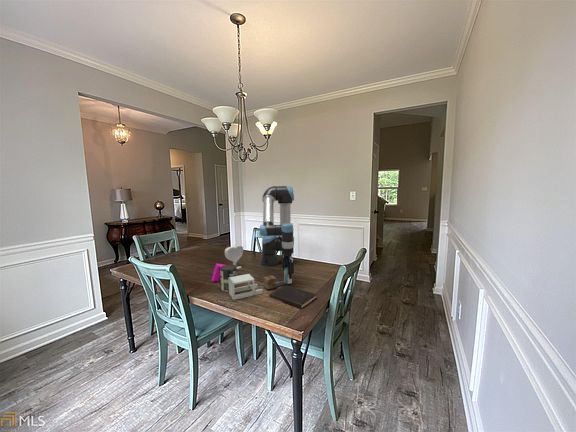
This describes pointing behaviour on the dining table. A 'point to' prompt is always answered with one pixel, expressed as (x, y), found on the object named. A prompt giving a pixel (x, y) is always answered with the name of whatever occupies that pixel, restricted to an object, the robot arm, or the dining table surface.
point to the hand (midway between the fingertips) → (288, 281)
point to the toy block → (217, 272)
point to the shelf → (243, 279)
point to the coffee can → (227, 276)
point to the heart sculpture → (234, 254)
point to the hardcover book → (293, 296)
